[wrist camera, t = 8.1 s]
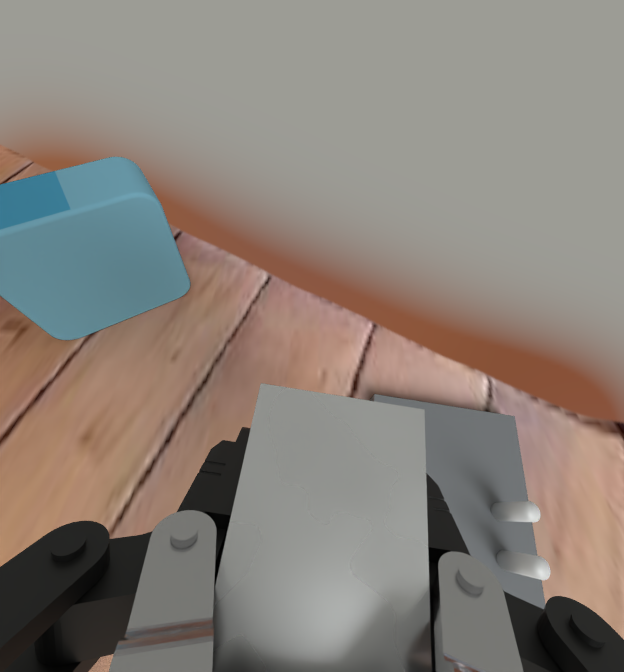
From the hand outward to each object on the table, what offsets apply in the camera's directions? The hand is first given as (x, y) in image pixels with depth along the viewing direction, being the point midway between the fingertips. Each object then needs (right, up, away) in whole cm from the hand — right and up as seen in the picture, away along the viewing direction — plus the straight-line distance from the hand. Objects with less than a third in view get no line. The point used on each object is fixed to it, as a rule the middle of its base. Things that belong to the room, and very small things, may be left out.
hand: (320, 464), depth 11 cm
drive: (-1, -4, +3) cm, 5 cm away
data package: (-18, +8, +21) cm, 29 cm away
